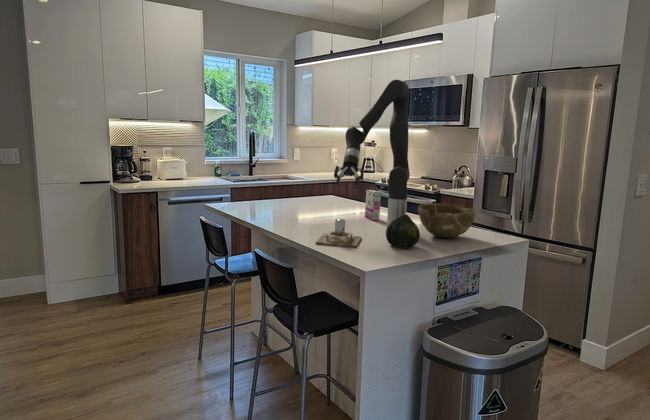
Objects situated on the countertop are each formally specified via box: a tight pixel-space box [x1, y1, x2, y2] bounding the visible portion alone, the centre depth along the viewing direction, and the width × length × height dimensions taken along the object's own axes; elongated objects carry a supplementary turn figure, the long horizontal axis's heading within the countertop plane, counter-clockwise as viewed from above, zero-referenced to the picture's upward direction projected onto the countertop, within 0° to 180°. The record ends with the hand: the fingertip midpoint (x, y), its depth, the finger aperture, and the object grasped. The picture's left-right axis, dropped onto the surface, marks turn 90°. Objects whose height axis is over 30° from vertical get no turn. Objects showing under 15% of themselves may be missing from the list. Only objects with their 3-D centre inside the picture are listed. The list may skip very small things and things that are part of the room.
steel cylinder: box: [334, 218, 346, 236], centre depth 203 cm, size 4×4×9 cm
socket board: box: [315, 230, 362, 249], centre depth 204 cm, size 18×18×4 cm
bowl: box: [417, 203, 476, 239], centre depth 220 cm, size 28×27×15 cm
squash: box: [385, 213, 421, 250], centre depth 199 cm, size 14×15×15 cm
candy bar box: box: [364, 189, 382, 221], centre depth 260 cm, size 11×5×16 cm, turn 17°
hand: (347, 184), depth 215 cm, fingers open, 8 cm apart
